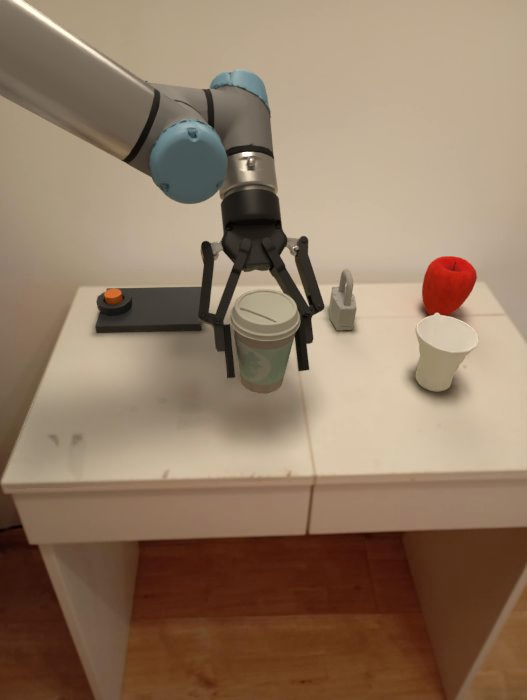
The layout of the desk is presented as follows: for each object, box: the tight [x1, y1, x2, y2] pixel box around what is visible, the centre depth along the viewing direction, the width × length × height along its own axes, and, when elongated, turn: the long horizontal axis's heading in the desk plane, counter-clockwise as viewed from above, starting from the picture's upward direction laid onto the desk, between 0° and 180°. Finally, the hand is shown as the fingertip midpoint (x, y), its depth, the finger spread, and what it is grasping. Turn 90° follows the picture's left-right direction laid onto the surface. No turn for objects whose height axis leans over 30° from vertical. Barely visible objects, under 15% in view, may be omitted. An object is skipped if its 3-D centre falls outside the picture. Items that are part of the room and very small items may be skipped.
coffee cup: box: [229, 288, 300, 395], centre depth 60 cm, size 8×9×12 cm
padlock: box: [328, 268, 357, 331], centre depth 83 cm, size 7×4×10 cm, turn 5°
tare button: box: [104, 289, 123, 304], centre depth 84 cm, size 3×3×2 cm
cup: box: [415, 313, 480, 393], centre depth 72 cm, size 9×9×10 cm
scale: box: [95, 286, 203, 334], centre depth 86 cm, size 18×12×3 cm, turn 95°
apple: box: [421, 255, 478, 317], centre depth 86 cm, size 9×9×11 cm
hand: (267, 374), depth 59 cm, fingers closed on coffee cup, 8 cm apart
